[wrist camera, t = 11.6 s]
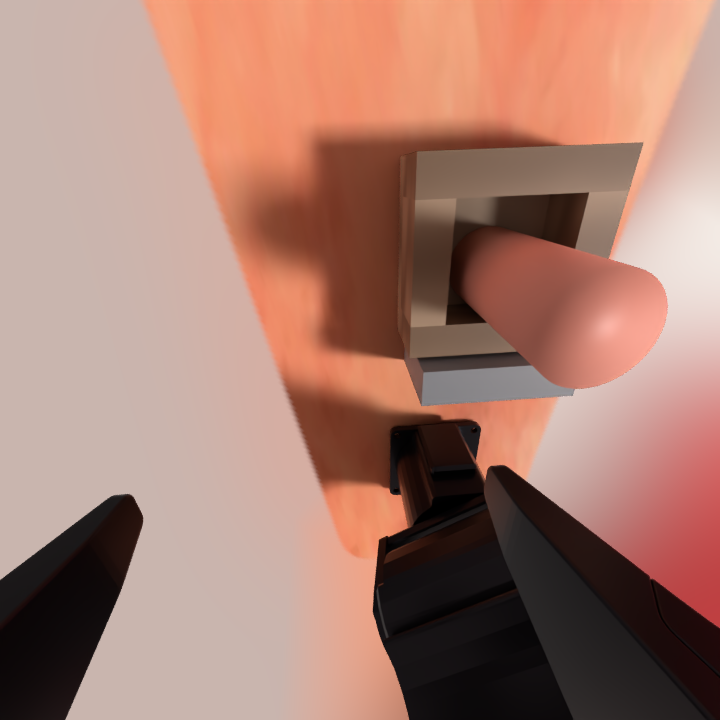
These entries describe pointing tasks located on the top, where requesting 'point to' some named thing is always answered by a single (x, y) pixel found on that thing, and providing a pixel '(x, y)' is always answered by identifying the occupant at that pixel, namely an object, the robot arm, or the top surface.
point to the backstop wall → (478, 379)
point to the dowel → (560, 304)
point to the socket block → (496, 208)
